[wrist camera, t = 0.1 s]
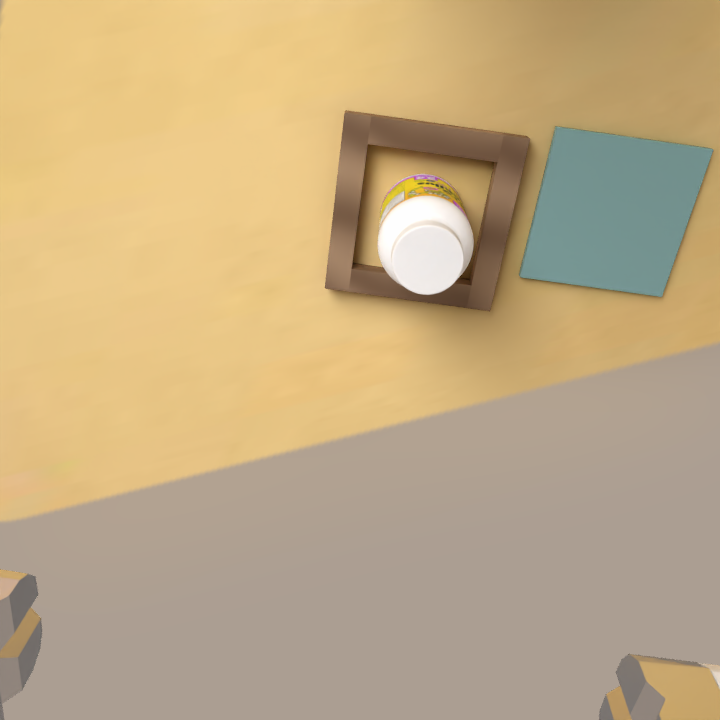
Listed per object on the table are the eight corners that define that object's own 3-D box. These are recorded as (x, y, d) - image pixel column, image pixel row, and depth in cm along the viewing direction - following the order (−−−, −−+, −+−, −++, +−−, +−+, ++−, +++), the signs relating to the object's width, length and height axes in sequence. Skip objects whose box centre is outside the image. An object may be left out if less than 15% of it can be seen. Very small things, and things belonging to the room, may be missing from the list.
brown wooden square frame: (346, 110, 52) (344, 112, 50) (526, 136, 52) (530, 138, 50) (326, 282, 58) (324, 288, 56) (487, 304, 58) (490, 311, 57)
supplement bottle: (479, 207, 54) (502, 255, 43) (425, 268, 57) (433, 329, 45) (416, 153, 53) (423, 188, 41) (363, 218, 55) (355, 268, 44)
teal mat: (555, 126, 51) (557, 127, 51) (710, 148, 52) (713, 149, 51) (519, 274, 57) (520, 277, 56) (659, 294, 57) (661, 296, 56)
